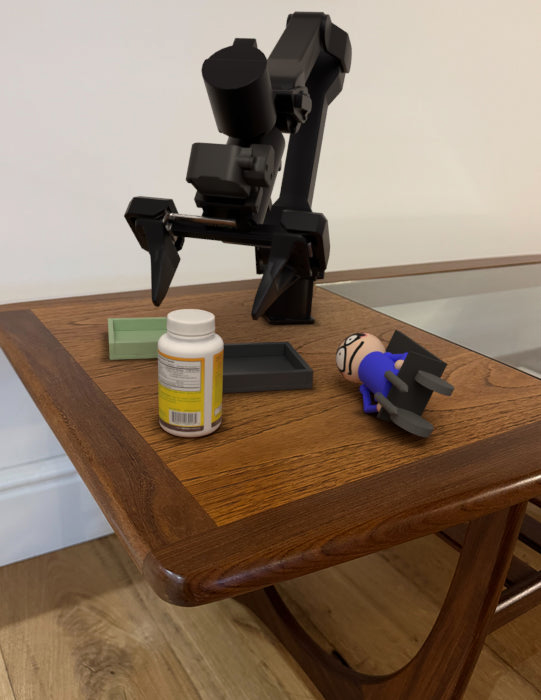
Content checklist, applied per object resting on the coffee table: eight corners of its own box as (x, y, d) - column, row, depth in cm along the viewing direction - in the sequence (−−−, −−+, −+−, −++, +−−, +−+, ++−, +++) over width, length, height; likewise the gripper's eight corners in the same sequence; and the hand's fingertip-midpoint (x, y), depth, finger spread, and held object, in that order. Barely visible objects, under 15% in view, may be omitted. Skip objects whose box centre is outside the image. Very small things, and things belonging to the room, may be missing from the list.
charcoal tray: (287, 357, 72) (288, 341, 72) (312, 388, 64) (313, 370, 63) (192, 361, 69) (192, 344, 69) (205, 394, 61) (205, 375, 60)
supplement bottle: (203, 407, 58) (205, 303, 55) (232, 431, 54) (237, 320, 51) (148, 419, 55) (146, 309, 52) (174, 445, 51) (174, 328, 48)
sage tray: (197, 331, 80) (198, 316, 79) (209, 356, 71) (210, 339, 71) (108, 333, 77) (107, 318, 76) (109, 360, 68) (109, 343, 68)
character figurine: (386, 456, 52) (328, 387, 66) (464, 444, 54) (391, 379, 67) (391, 371, 49) (329, 317, 63) (472, 361, 51) (394, 310, 65)
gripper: (131, 103, 55) (68, 245, 49) (337, 115, 51) (297, 271, 45) (167, 187, 65) (119, 314, 59) (342, 203, 61) (310, 342, 54)
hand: (203, 311), depth 54 cm, fingers open, 9 cm apart
